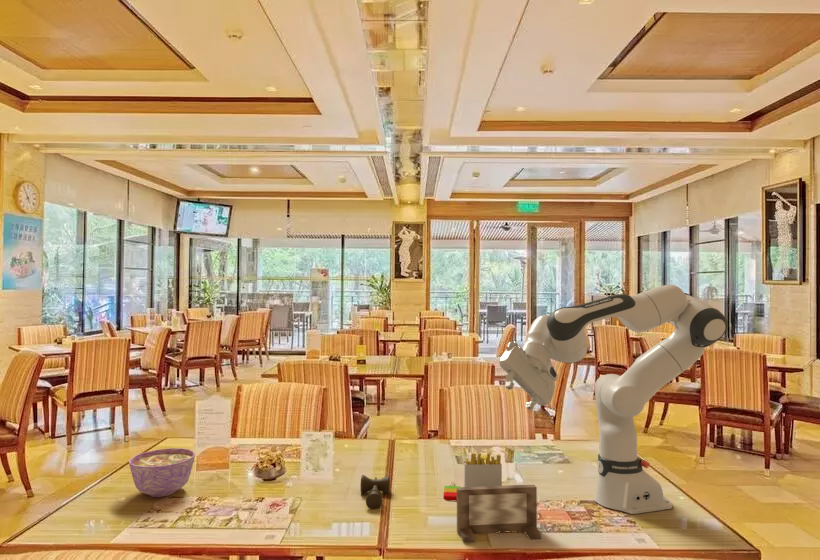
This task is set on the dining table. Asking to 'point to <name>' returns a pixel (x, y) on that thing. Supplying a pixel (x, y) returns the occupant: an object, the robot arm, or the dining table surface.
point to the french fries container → (483, 471)
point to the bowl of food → (161, 470)
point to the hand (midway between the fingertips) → (518, 398)
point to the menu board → (497, 510)
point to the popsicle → (450, 492)
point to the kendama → (374, 490)
